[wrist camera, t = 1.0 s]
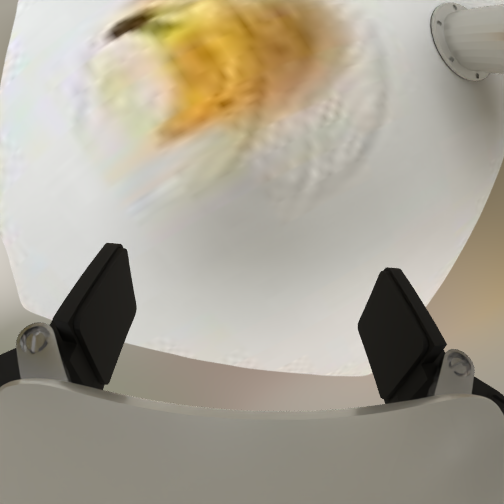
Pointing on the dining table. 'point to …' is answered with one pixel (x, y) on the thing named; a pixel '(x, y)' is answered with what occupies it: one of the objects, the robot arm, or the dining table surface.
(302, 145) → the dining table surface
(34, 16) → the dining table surface
